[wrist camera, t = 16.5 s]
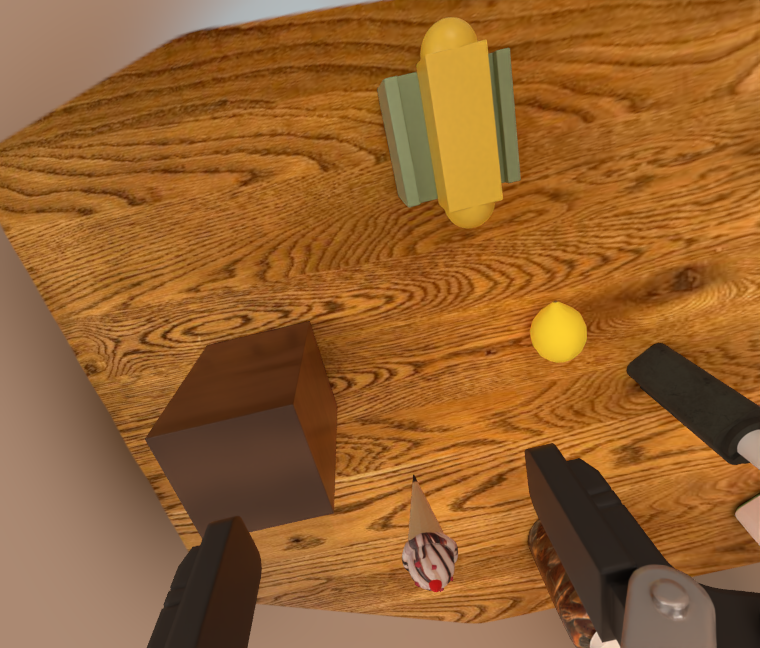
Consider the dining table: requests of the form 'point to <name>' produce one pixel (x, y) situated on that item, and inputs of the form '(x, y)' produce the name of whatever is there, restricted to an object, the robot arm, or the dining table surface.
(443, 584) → the ice cream cone
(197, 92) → the dining table surface
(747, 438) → the candle
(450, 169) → the yellow ball-topped peg
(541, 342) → the lemon
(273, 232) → the dining table surface
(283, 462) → the block
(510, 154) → the block
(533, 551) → the jar
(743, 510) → the cup
